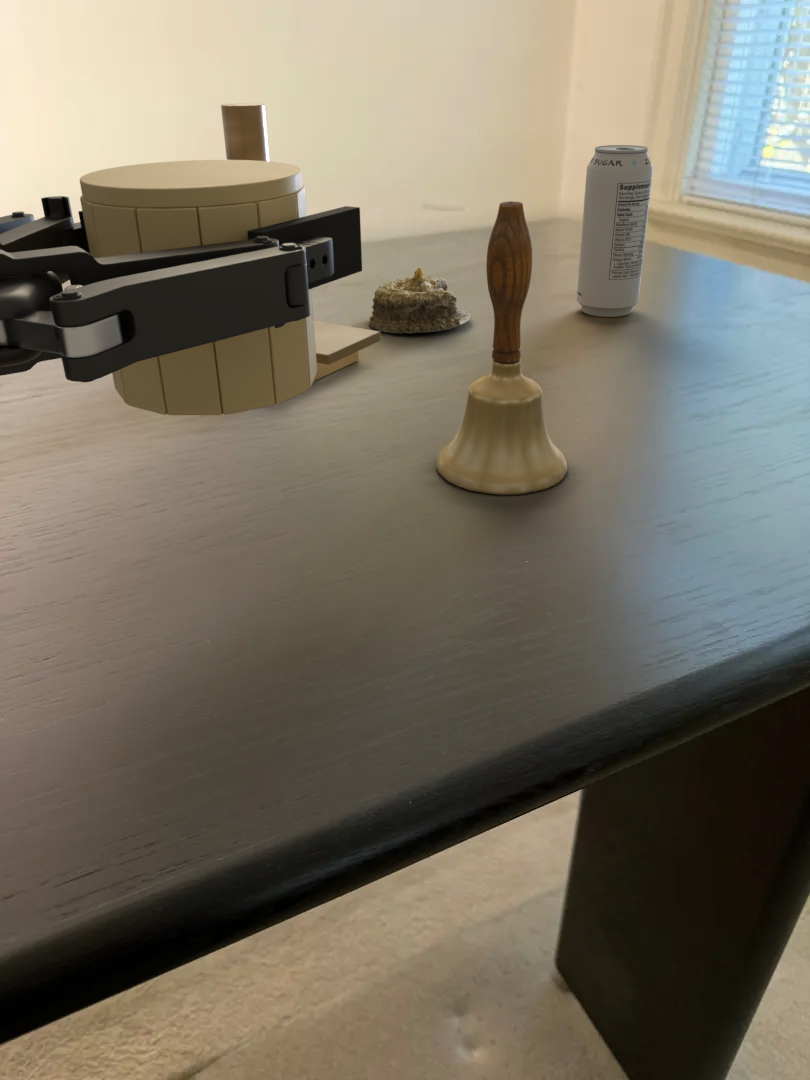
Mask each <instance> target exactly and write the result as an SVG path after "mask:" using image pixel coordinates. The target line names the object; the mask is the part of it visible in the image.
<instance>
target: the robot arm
mask: <svg viewBox="0 0 810 1080" xmlns="http://www.w3.org/2000/svg"><path fill="white" fill-rule="evenodd" d="M40 201H41V206H42V210H43V214H44V216H43V217H40V218H37V219H35V217H34V214H32V213H25V211H21V210H19V211H12V212H11V214H8V215H4V216H0V377H1V376H6V375H13V374H14V375H15V374H19V373H24V372H28V371H30V370H32V368H33V367H34V366H36V364H38V363H40V362H47V361H51V360H57V359H61V362H62V366H63V371H64V377H65V379H66V380H67V381H70V382H75V383H76V382H79V383H90V382H94V381H95V380H98V379H102V378H103V377H106V376H109V375H110V374H111V375H112V373H113V372H115V371H118V370H120V369H122V368H124V367H127V366H129V365H131V364H133V363H136V362H138V361H142V360H146V359H150V358H154V357H157V356H161V355H165V354H169V353H173V352H177V351H180V350H184V349H188V348H192V347H196V346H200V345H204V344H207V343H211V342H215V341H219V340H223V339H227V338H230V337H234V336H238V335H242V334H246V333H250V332H253V331H257V330H261V329H265V328H269V327H273V326H275V328H279V327H282V326H284V325H285V323H288V322H292V321H298V320H301V319H303V318H306V317H309V316H310V306H309V289H312V290H313V289H314V288H318V287H320V286H323V285H327V284H329V283H332V282H334V281H337V280H340V279H343V278H346V277H349V276H352V275H354V274H358V273H359V272H362V271H363V255H362V231H361V230H362V229H361V227H362V226H361V208H360V207H359V206H348V205H345V206H341V207H337V208H334V209H329V210H326V211H321V212H317V213H313V214H309V215H307V216H305V217H301V218H297V219H294V220H290V221H286V222H282V223H278V224H274V225H270V226H266V227H262V228H257V229H253V230H249V231H247V233H248V240H241V241H232V242H224V243H216V244H208V245H200V246H191V247H183V248H175V249H167V250H159V251H151V252H142V253H134V254H126V255H118V256H110V257H102V258H93V256H92V255H90V250H89V244H88V239H87V234H86V228H85V223H84V217H83V212H82V210H79V211H78V217H79V221H78V222H75V221H74V216H73V212H72V211H73V210H72V206H71V201H70V197H69V196H65V195H56V196H55V195H54V196H46V197H45V196H44V197H41V198H40ZM67 282H70V283H69V284H70V285H67V286H66V287H64V288H63V284H66V283H67Z"/></svg>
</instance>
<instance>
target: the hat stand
mask: <svg viewBox="0 0 810 1080" xmlns="http://www.w3.org/2000/svg"><path fill="white" fill-rule="evenodd" d="M220 110H221V119H222V128H223V129H222V130H223V137H224V147H225V157H226V160H255V161H270V162H271V160H270V148H269V147H270V146H269V145H270V144H269V135H268V122H267V110H266V104H265V103H262V102H236V103H224V104H221V105H220ZM356 362H359V351H357V352H355V353H353V354H351V355H349V356H346V357H344V358H342V359H340V360H338V361H336V362H334V363H331V364H329V365H327V364H322V363H317V373H316V376H315V378H314V381H313V383H314V382H315V381H318V380H320V379H323V378H324V377H326V376H329V375H330V374H332V373H335V372H337V371H339V370H341V369H343V368H345V367H347V366H349V365H352V364H354V363H356Z"/></svg>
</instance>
